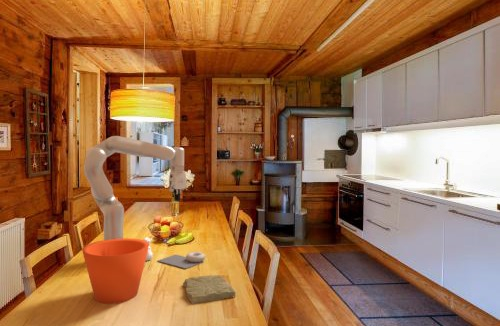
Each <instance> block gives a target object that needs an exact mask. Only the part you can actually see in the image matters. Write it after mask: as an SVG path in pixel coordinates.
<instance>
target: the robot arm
mask: <svg viewBox="0 0 500 326" xmlns="http://www.w3.org/2000/svg"><path fill="white" fill-rule="evenodd" d="M115 153H118V154H123V155H124V154H125V155H129V156H134V157H141V158H151V159H158V160H161V161H166V162H167V161H169V162H170V168H169V169H170V172H169V176H168V188H169V192H172V194H174V195H173V198H174V199H173V201H175V202H180V201H181V194H182V191H184V190H185V188H187V177H186V176H187V175H186V174H187V173H186V171H185V148H183V147H180V146H179V147H178V146H177V147H174V146H173V147H171V146H167V145H162V144H157V143H151V142H149V141H145V140H140V139H139V140H138V139H134V138H129V137H124V136H121V135H120V136H119V135H112V136H110V137H108V138H106V139H104V140H103V141H101V142H98V143H97V144H96V145H94V146H92V147H90V148H88V149H87V151H86V153H85V159H84V160H85V161H84V163H83V173H84V175H85V176H84V177H85V178H86V181H88V184H89V185H90V186H89V187H90V193H91V195H92V197H93V199H94V201H95V203H96V204H97V206H98V208H99V210H100V211H101V213H102V214H103V215H104V217H103V240H109V239H121V238H124V219H125V217H124V216H125V208H124V205H123V204H122V203H121V201H119V200H117V199H116V197H115V195H114V189H113V187H112V185H111V183H110V181H109V180H108V178H107V176H106V174H105V172H104V169H103V166H104V163H105V162H106V160H107V158H108V157H110V156H112V155H113V154H115Z"/></svg>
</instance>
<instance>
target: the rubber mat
mask: <svg viewBox="0 0 500 326" xmlns="http://www.w3.org/2000/svg"><path fill="white" fill-rule="evenodd" d="M157 263H161V264H164V265H169V266H172V267H176V268H178V269H179V268H180V269H183V270H188V269H191V268H193V267H195V266H198V265H200V263H201V264H203V263H204V260H203V261H201V262H189V261H187V259H186V256H184V255H180V254H172V255H170V256H167V257H164V258H160V259H158V260H157Z"/></svg>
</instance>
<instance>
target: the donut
mask: <svg viewBox="0 0 500 326" xmlns="http://www.w3.org/2000/svg"><path fill="white" fill-rule="evenodd" d="M185 257H186V259H187V261H189V262H201V261H203V262H204V260H205V258H206V254H204V253H203V252H200V251H192V252H189V253H187V254H186V256H185Z"/></svg>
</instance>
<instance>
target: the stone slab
mask: <svg viewBox="0 0 500 326" xmlns="http://www.w3.org/2000/svg"><path fill="white" fill-rule="evenodd" d="M182 286H183V288H185V290H186V291H185V292H186V293H185V295H186V298H187V299H189V302H190V303H191V304H192V305H193V304H200V303H206V302H207V303H209V302H213V300H214V301H221V300H225V299H224V298H227V299H229V298H228V297H233V296H235V297H236V290H235V289H234V287H232V286H231V284H230V283H229V282H228V281H227V280H226V278H223V276H221V275H220V274H215V275H214V274H210V275H203V276H202V275H201V276H195V277H189V278H184V281H183V282H182ZM233 298H234V297H233ZM220 299H221V300H220Z"/></svg>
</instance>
